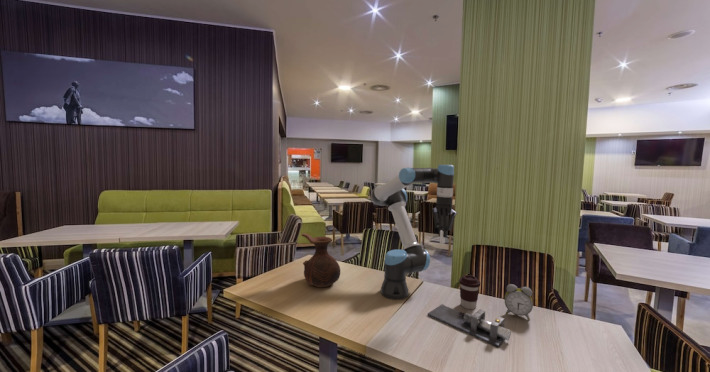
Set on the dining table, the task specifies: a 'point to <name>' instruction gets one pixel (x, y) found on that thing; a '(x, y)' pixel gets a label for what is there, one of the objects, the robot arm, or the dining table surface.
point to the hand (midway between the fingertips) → (442, 243)
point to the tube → (486, 326)
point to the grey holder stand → (457, 321)
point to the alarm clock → (518, 300)
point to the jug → (321, 264)
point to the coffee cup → (469, 291)
